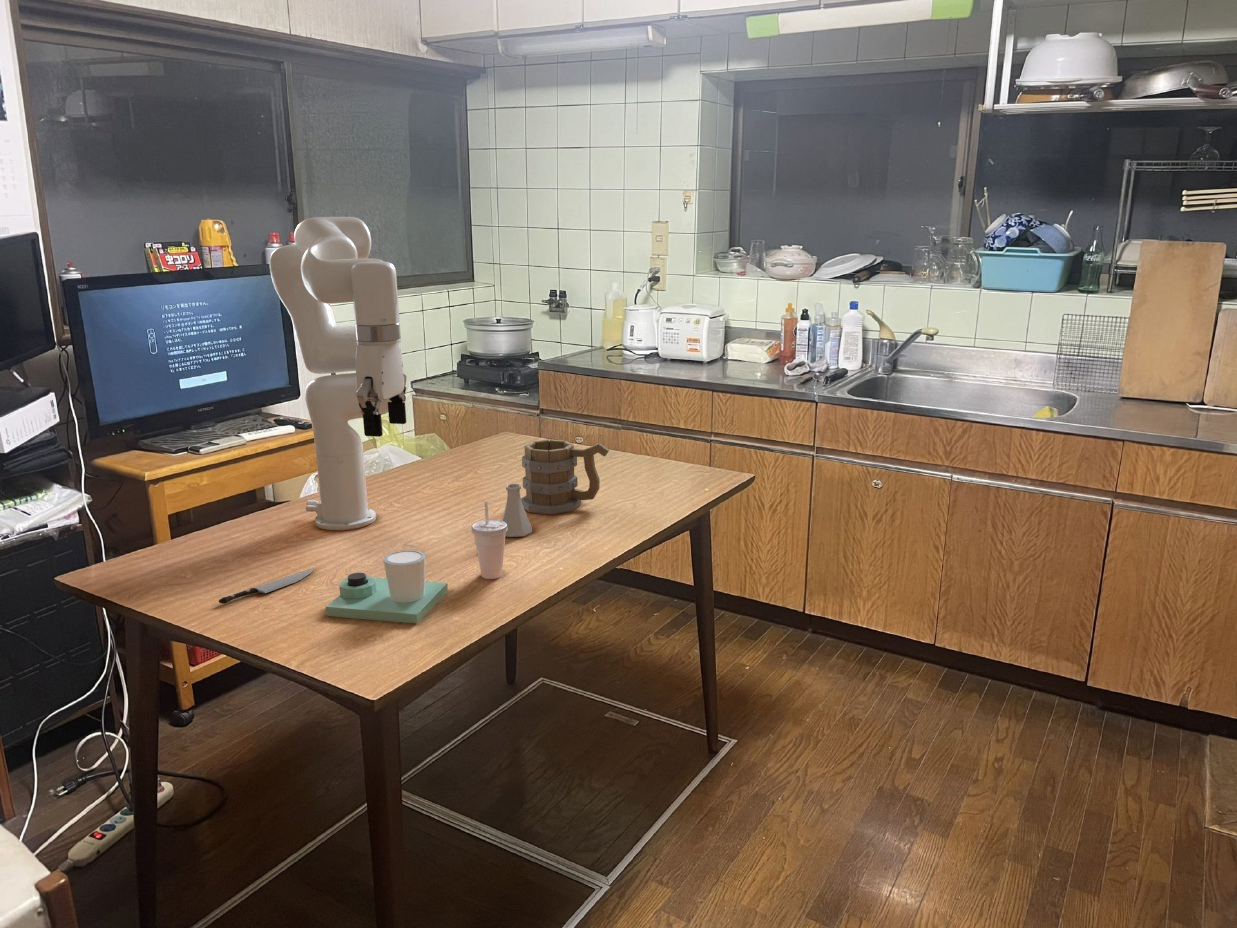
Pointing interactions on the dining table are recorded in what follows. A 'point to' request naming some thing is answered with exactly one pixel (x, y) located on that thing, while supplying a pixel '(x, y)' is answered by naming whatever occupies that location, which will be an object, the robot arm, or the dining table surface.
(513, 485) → the flask
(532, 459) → the tankard
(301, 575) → the chef's knife
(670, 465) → the dining table surface
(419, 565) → the white tapered cup
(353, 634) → the dining table surface
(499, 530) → the smoothie
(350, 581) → the button
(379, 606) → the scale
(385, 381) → the robot arm
